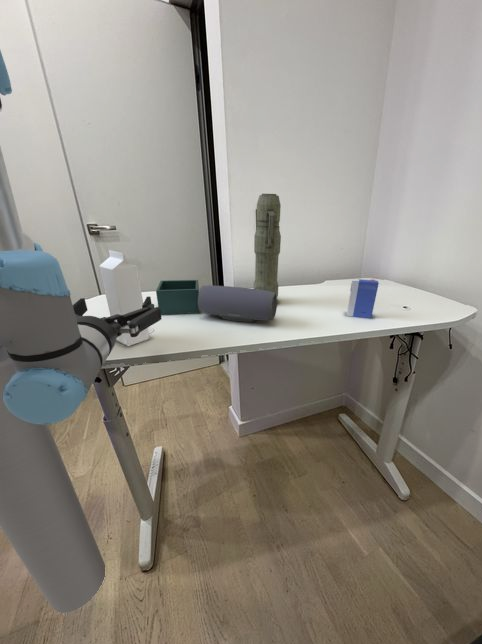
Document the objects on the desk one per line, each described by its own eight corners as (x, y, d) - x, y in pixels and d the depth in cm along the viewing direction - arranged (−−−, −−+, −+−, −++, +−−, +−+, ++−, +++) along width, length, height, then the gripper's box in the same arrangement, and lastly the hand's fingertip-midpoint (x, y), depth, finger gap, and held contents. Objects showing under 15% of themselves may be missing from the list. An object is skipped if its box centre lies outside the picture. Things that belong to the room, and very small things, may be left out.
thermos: (271, 296, 113) (276, 194, 97) (282, 306, 103) (289, 194, 87) (249, 297, 111) (250, 193, 95) (258, 307, 101) (260, 193, 84)
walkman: (370, 315, 97) (378, 279, 91) (371, 318, 94) (379, 281, 89) (346, 313, 98) (352, 277, 93) (346, 315, 96) (352, 279, 90)
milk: (128, 346, 72) (108, 254, 62) (115, 339, 75) (94, 251, 65) (149, 338, 76) (134, 251, 66) (136, 332, 80) (120, 248, 69)
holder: (159, 314, 92) (155, 290, 88) (163, 302, 103) (160, 280, 99) (199, 313, 94) (198, 289, 91) (199, 301, 105) (198, 279, 102)
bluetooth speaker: (276, 318, 92) (278, 287, 88) (270, 329, 84) (271, 295, 80) (210, 310, 97) (208, 280, 92) (198, 320, 89) (195, 287, 84)
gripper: (4, 371, 46) (60, 321, 64) (168, 360, 50) (177, 316, 69) (-16, 327, 42) (50, 288, 61) (163, 319, 47) (173, 285, 65)
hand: (117, 303), depth 65 cm, fingers open, 13 cm apart
